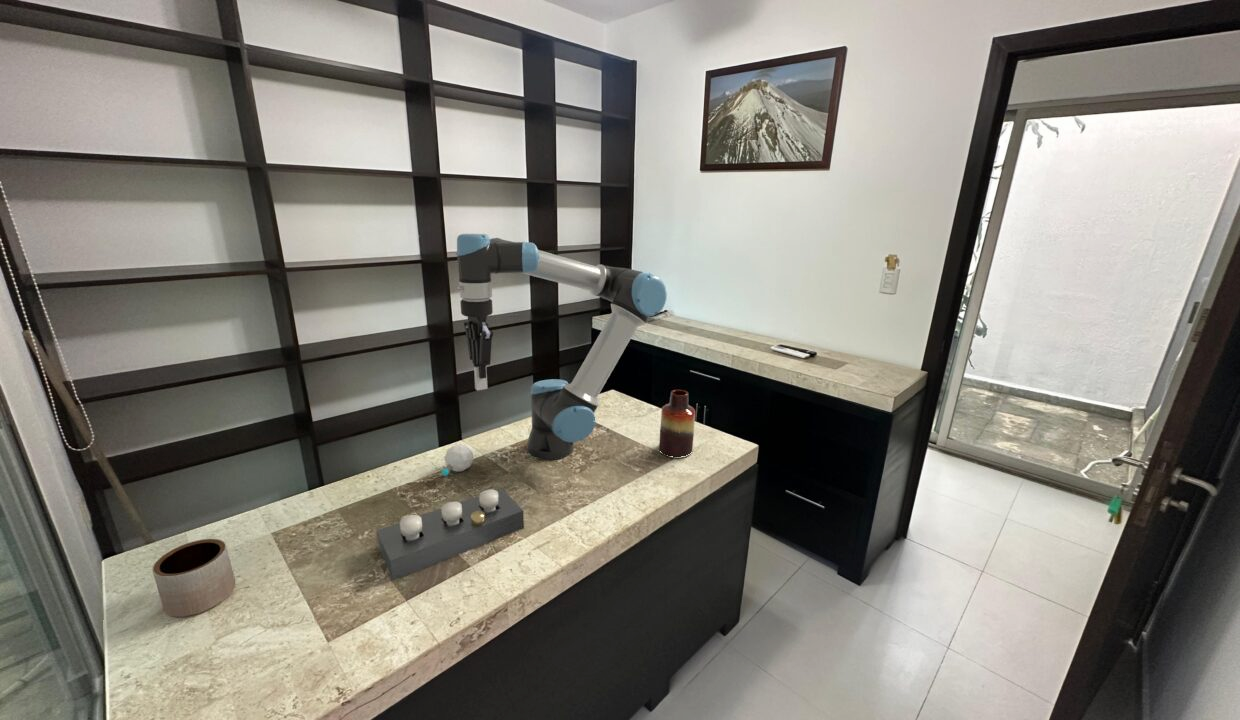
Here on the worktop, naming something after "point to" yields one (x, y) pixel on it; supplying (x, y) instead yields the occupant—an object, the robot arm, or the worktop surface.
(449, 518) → the knob mid
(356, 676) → the worktop surface
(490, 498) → the knob
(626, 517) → the worktop surface
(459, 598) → the worktop surface
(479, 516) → the brass dial
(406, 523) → the knob
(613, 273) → the robot arm
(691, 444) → the vase
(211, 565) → the planter
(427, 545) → the mount
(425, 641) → the worktop surface
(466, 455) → the perfume bottle
